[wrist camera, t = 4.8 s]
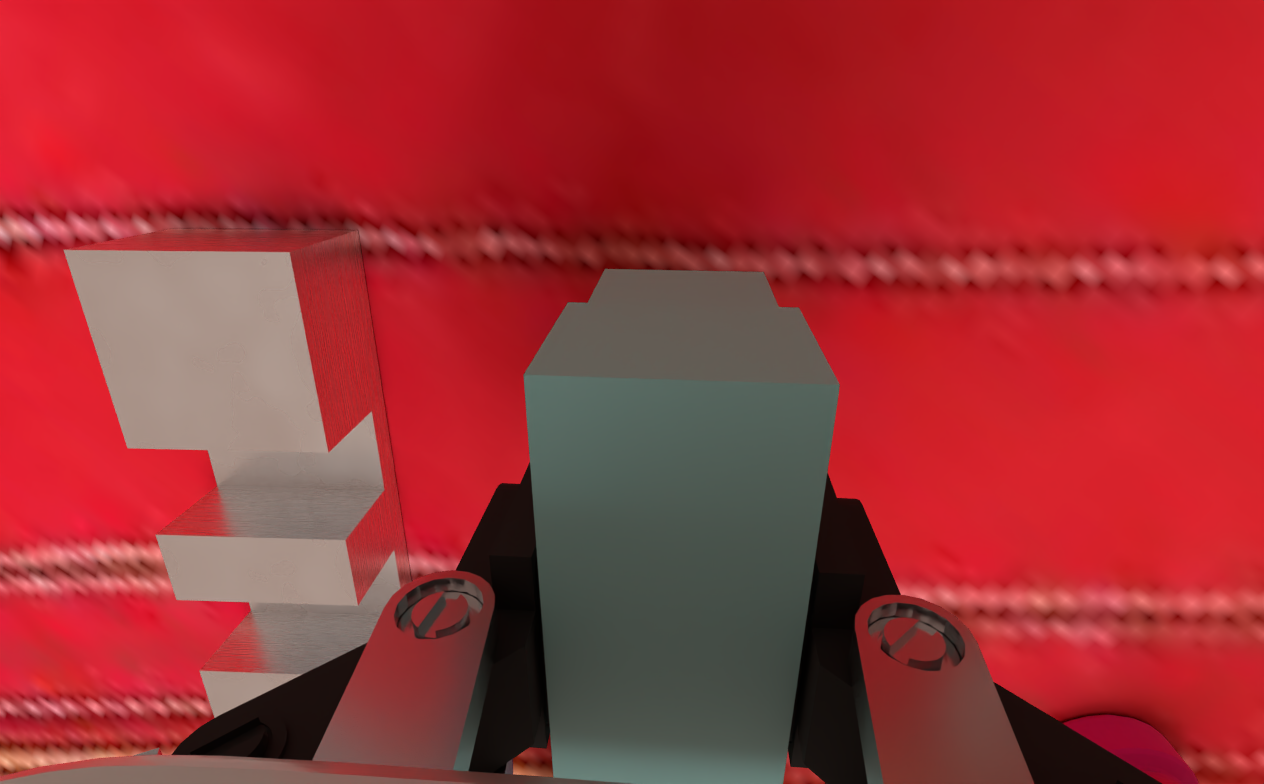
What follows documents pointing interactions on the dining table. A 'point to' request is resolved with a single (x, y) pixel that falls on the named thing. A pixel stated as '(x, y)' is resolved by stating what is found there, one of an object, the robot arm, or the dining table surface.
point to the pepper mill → (1136, 746)
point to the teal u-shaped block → (676, 524)
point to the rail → (258, 432)
